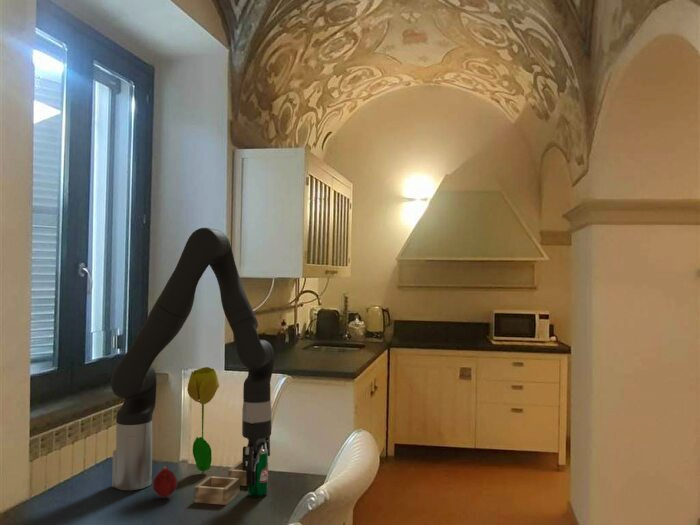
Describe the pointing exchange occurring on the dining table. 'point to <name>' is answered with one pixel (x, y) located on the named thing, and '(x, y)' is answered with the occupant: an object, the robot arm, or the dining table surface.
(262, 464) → the soda can
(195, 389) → the flower
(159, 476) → the onion
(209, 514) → the dining table surface
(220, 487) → the oak endcap
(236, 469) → the oak endcap
